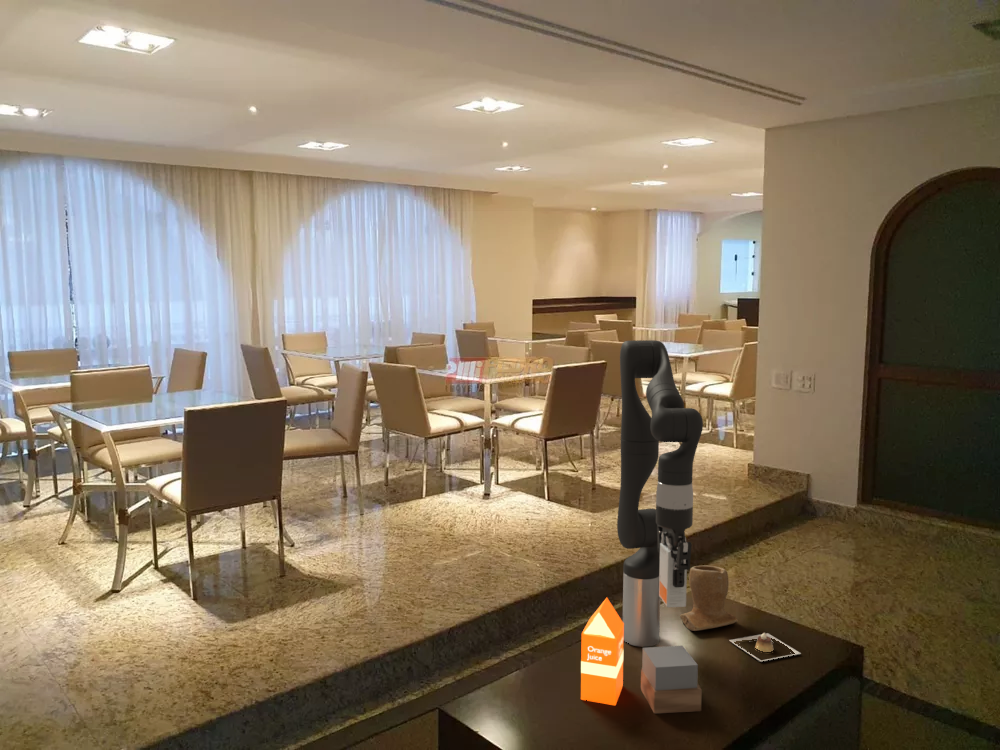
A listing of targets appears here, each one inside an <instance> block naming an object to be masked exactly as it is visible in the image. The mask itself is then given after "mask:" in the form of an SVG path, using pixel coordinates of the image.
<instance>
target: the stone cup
mask: <svg viewBox="0 0 1000 750" xmlns="http://www.w3.org/2000/svg"><path fill="white" fill-rule="evenodd" d="M688 582H689V589H690V592H691V597H692V602H693V605H692V606H693V607H692V609H691V610H690V611H688V612H686V613H685V612H684V613H682V614H680V615H679V618H680V619H681V621H682V623H683V625H684V626H685V627H686V628H687V629H689V631H692V632H693V631H694V632H696V631H705V630H710V629H716V628H720V627H725V626H728V625H732V624H735V623H737V622H738V618H737V617H736V616H734V615H733V614H731V613H730V612H728V611H726V610H725V603H726V599H727V596H728V592H729V587H730V586H729V584H730V583H729V582H730V581H729V575H728V571H727V570H726V569H725V568H723V567H719V566H714V565H696V566H692V567H690V569H689V574H688Z"/></svg>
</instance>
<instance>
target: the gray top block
mask: <svg viewBox="0 0 1000 750" xmlns="http://www.w3.org/2000/svg"><path fill="white" fill-rule="evenodd" d="M641 662H642V663H641V664H642V665H641V666H642V667H641V668H642V670H643V672H644V673H645V675H646V676H647V678H648V680H649V681H650V683H651V684H652V686H653V688H654V689H655V691H657V690H673V689H688V688H697V683H698V678H699V677H698V675H699V673H698V671H699V670H698V669H699V667H698V666H699V664H698V663H697V662H696V661H695V660H694V658H693V657H692V656H691V654H690V653H689V652H688V651H687V649H686V648H685V647H684V645H670V646H655V647H654V646H648V647H642V661H641Z"/></svg>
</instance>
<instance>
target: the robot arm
mask: <svg viewBox="0 0 1000 750" xmlns="http://www.w3.org/2000/svg"><path fill="white" fill-rule="evenodd" d="M619 353H620V354H619V366H620V367H619V368H620V369H619V370H620V371H619V372H620V389H621V390H620V391H621V393H620V394H621V424H620V425H621V426H620V485H619V486H620V490H619V498H618V499H619V500H618V510H617V523H616V524H617V525H616V527H617V528H616V529H617V530H616V531H617V538H618V540H619V543H620V544H621V546H622V547H623V548H625V549H627V550H630V549H638V550H637V551H636V552H635V553H633V554H632V555H630V556H629V557H626V559H625V560H624V562H623V568H622V569H623V570H622V571H623V574H622V575H623V576H622V578H623V582H622V588H623V589H622V622H623V623H624V641H623V642H625V643H626V642H627V643H626V644H628V643H629V644H628V645H631V646H635V647H642V648H649V647H654V646H656V645H657V644H658V643H659V642H660V633H661V632H660V629H661V622H660V621H661V598H660V597H659V570H660V543H662V544H663V545H665V544H666V545H667V546H668V550H669V551H670V553H671V558H672V559H673V586H674V587H683V586H684V573H685V570H687V571H690V569H691V557H692V545H693V544H692V542H691V541H687V537H686V533H685V531H686V530H687V529H690V528H691V527H693V521H694V520H693V517H694V516H693V515H694V514H693V513H694V488H693V471H694V470H693V468H694V461H695V456H696V452H697V448H698V445H699V442H700V439H701V436H702V433H703V429H704V421H703V417H702V415H701V413H700V412H699V411H698V410H697V409H695V408H691V407H685V403H684V400H683V397H682V396H681V394H680V392H679V390H678V388H677V385H676V383H675V379H674V374H673V369H672V365H671V361H670V357H669V353H668V350H667V348H666V345H665V344H664V343H663V342H662V341H659V340H625V341H623V342H622V344H621V346H620V352H619ZM636 379H650V381H649V382H648V384H647V387H646V391H645V396H646V397H645V398H646V401H647V404H648V406H649V408H650V410H651V415H650V414H649V412H648V411H647V409H646V407H645V406H644V404H643V402H642V400H641V398H640V396H639V394H638V391H637V390H638V389H637V387H636ZM660 442H661V443H680V446H679V447H677V449H675V450H672V451H667V452H663V453H662V454H660V455H659V453H660V451H659V448H660V446H659V445H660ZM656 466H657V486H656V491H655V492H656V495H655V508H643V509H639V505H640V499H641V494H642V492H643V489H644V487H645V485H646V483H647V481H648V480H649V478H650V476H651V475H652V473H653V471H654V469H655V468H656ZM673 551H677V554H674V553H673ZM676 558H677V562H676ZM681 560H682V564H681Z"/></svg>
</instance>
